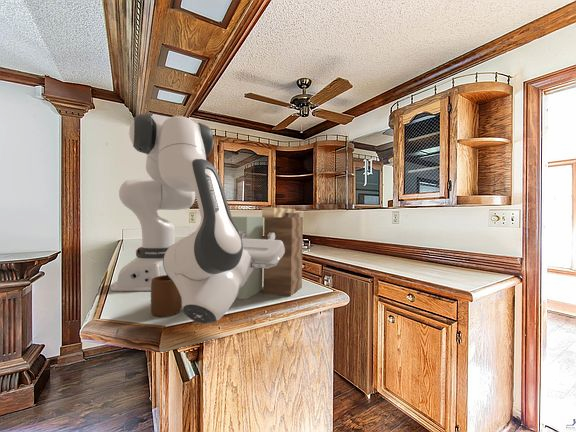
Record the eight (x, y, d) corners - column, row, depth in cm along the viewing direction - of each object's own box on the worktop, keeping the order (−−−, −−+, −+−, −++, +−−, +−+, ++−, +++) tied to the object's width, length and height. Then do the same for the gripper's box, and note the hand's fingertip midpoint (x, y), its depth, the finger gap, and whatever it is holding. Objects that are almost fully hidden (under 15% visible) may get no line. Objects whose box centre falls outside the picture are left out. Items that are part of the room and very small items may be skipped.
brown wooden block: (290, 296, 93) (292, 212, 92) (263, 292, 96) (264, 212, 96) (301, 287, 104) (302, 213, 104) (276, 284, 107) (277, 212, 107)
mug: (162, 303, 84) (162, 271, 84) (188, 302, 85) (188, 271, 84) (146, 318, 72) (146, 281, 72) (176, 317, 73) (177, 280, 73)
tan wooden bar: (274, 217, 86) (274, 207, 86) (262, 217, 87) (262, 207, 87) (295, 217, 105) (295, 209, 105) (285, 216, 106) (285, 208, 106)
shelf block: (245, 299, 88) (246, 216, 88) (224, 296, 91) (225, 216, 91) (262, 289, 100) (263, 216, 99) (242, 287, 102) (243, 216, 102)
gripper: (271, 257, 63) (290, 225, 75) (197, 252, 71) (224, 223, 82) (276, 278, 66) (293, 244, 78) (204, 271, 74) (229, 241, 85)
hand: (257, 234), depth 80 cm, fingers open, 8 cm apart
